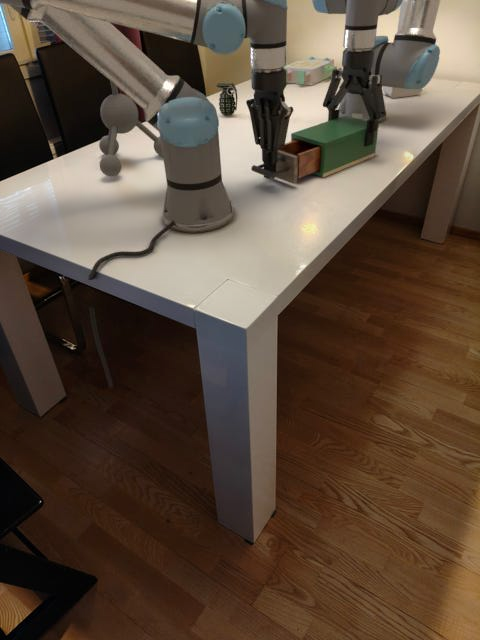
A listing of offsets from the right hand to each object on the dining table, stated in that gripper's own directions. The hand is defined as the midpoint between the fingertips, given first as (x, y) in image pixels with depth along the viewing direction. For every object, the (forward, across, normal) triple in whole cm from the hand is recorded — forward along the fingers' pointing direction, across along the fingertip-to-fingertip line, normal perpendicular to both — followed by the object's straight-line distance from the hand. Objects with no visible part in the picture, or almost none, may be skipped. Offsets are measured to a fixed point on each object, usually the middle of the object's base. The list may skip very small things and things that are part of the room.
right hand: (350, 140), depth 131 cm
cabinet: (+4, 0, +6) cm, 8 cm away
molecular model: (+4, +40, +43) cm, 59 cm away
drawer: (+3, 0, +20) cm, 20 cm away
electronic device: (+4, +26, -62) cm, 67 cm away
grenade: (+4, +56, -3) cm, 56 cm away
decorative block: (+4, +72, -59) cm, 93 cm away
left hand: (+2, 0, +30) cm, 30 cm away
